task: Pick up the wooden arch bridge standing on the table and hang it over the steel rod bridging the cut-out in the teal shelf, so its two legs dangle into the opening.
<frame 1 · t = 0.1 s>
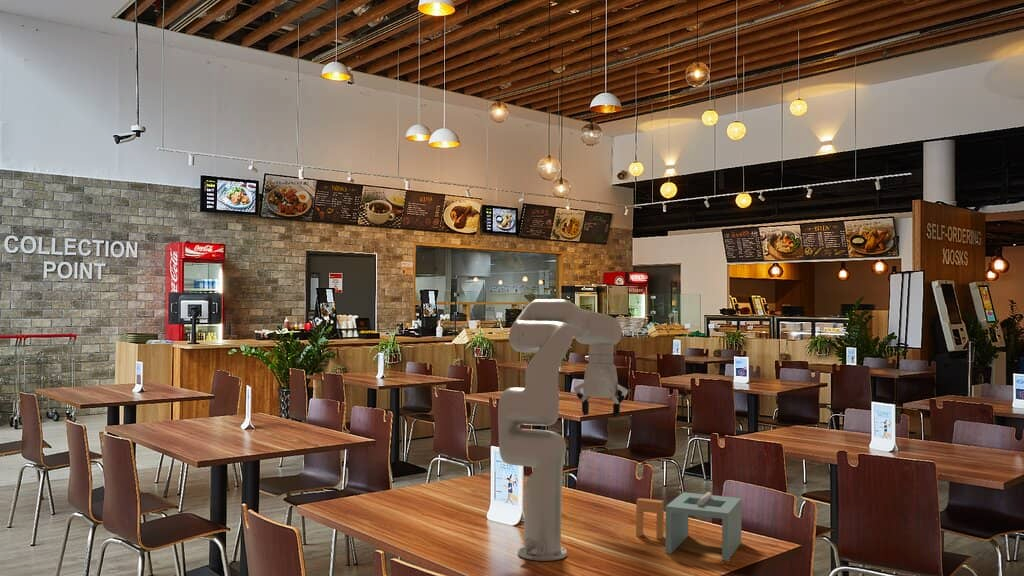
hand: (600, 415, 247), 31 cm above the table, fingers open, 9 cm apart
shelf: (704, 547, 213), on the table
wooden arch bridge: (649, 536, 224), on the table
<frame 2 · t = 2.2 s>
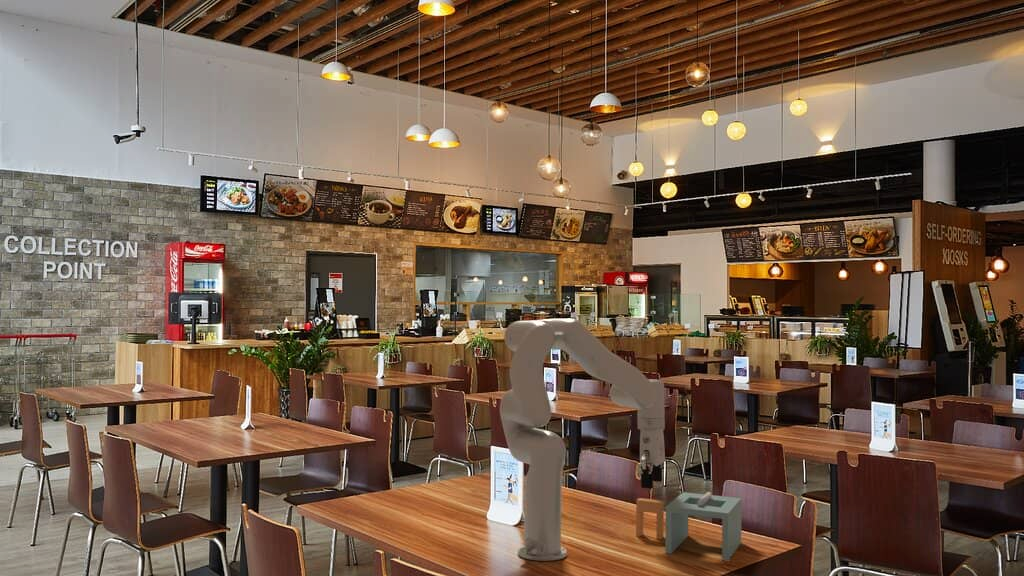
hand: (651, 484, 225), 14 cm above the table, fingers open, 9 cm apart
nothing on the table moved.
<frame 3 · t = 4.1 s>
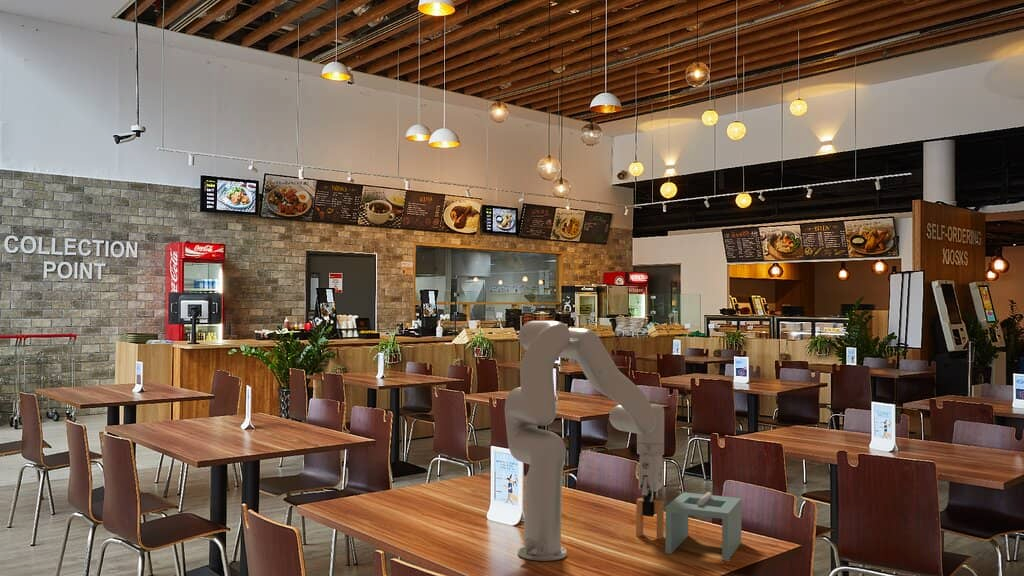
hand: (649, 513, 224), 6 cm above the table, fingers closed on wooden arch bridge, 3 cm apart
wooden arch bridge: (649, 536, 224), on the table, touching gripper
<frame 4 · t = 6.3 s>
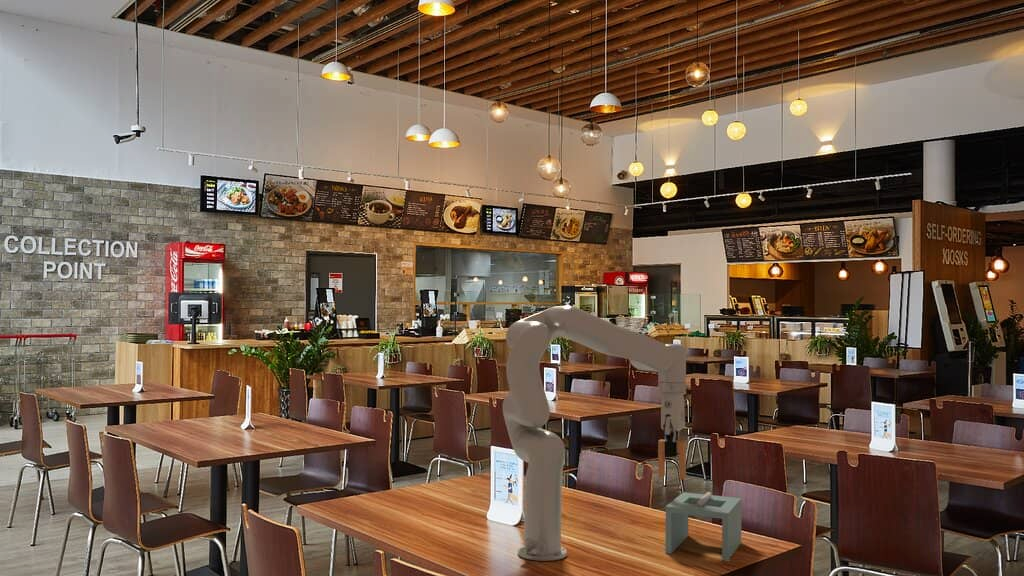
hand: (672, 454, 221), 23 cm above the table, fingers closed on wooden arch bridge, 3 cm apart
wooden arch bridge: (672, 477, 221), point 17 cm above the table, touching gripper
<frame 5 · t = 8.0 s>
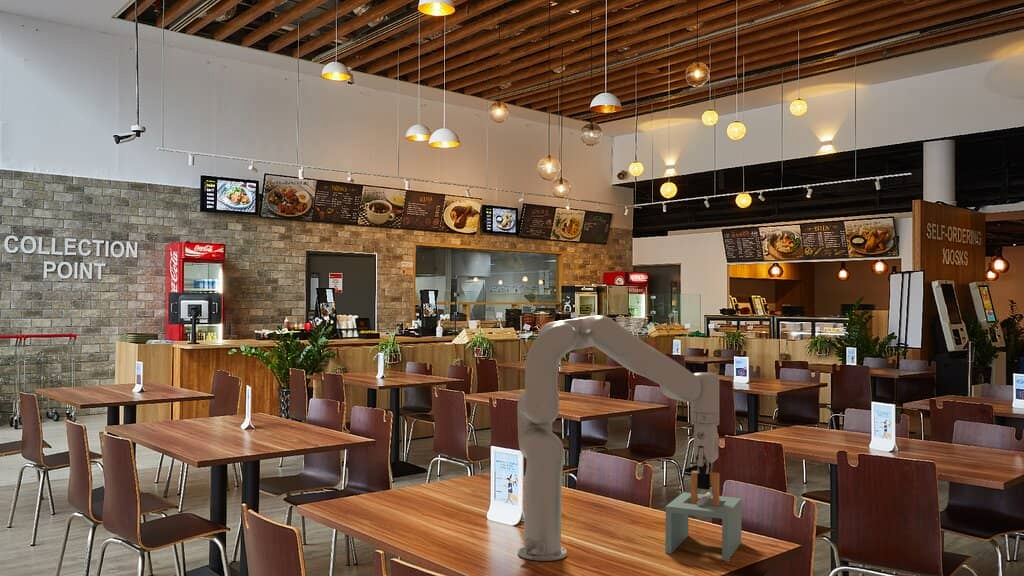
hand: (705, 486, 214), 16 cm above the table, fingers closed on wooden arch bridge, 3 cm apart
wooden arch bridge: (705, 510, 214), point 10 cm above the table, touching gripper
when the fingers open (15 cm above the table, at t = 8.7 s): wooden arch bridge drops 3 cm, resting on shelf.
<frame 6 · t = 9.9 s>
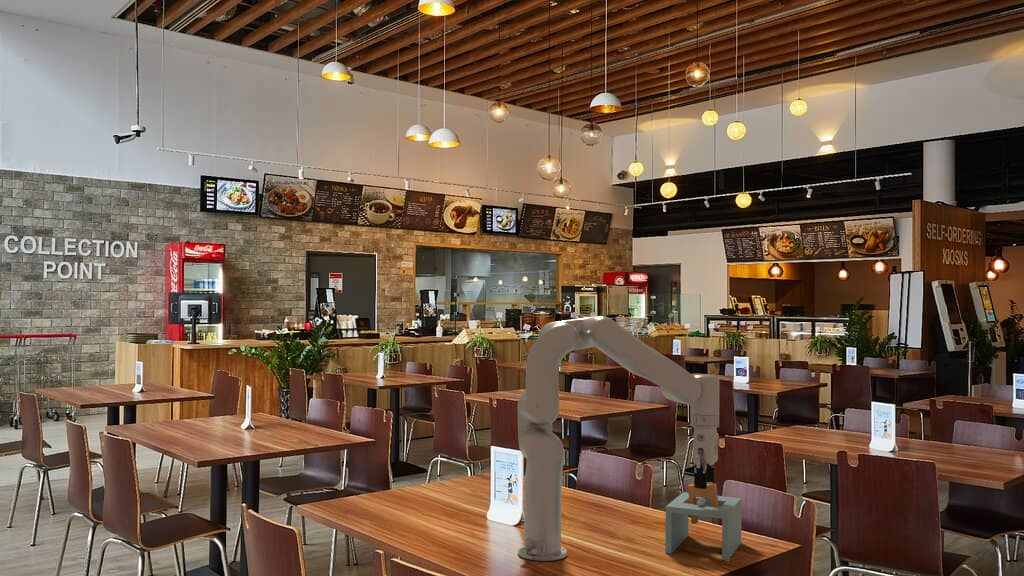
hand: (704, 485, 214), 17 cm above the table, fingers open, 9 cm apart
wooden arch bridge: (705, 522, 214), point 7 cm above the table, tilted 6°, touching shelf
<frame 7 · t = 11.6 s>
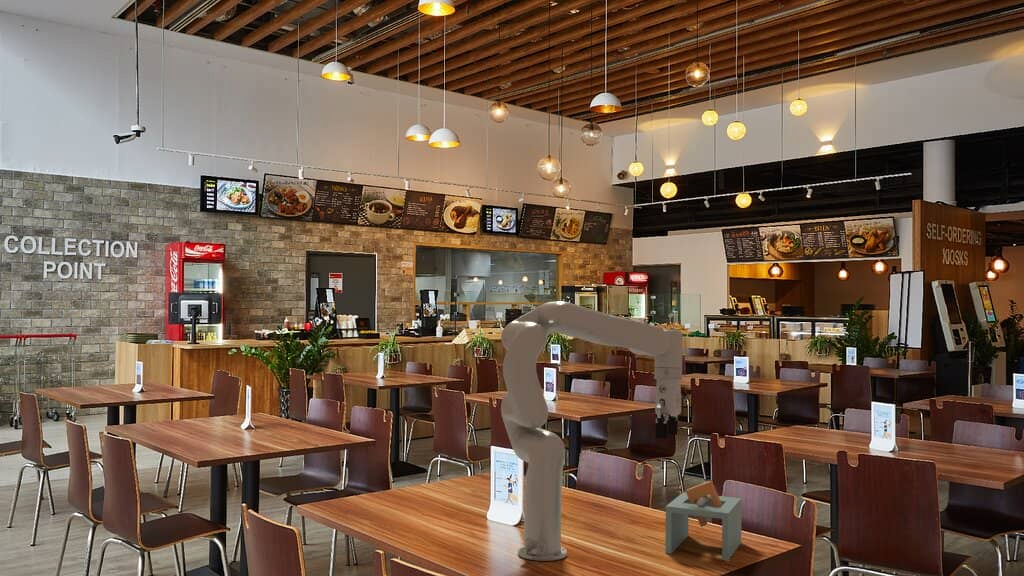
hand: (666, 436, 221), 29 cm above the table, fingers open, 9 cm apart
wooden arch bridge: (714, 521, 213), point 7 cm above the table, tilted 25°, touching shelf
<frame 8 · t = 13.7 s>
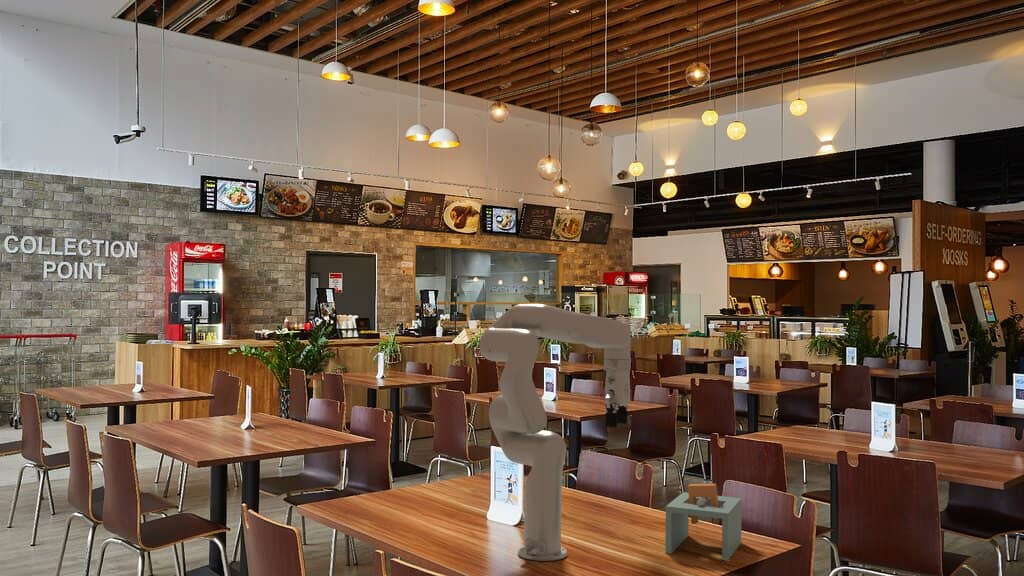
hand: (616, 425, 229), 30 cm above the table, fingers open, 9 cm apart
wooden arch bridge: (705, 522, 214), point 7 cm above the table, tilted 6°, touching shelf
at the end: wooden arch bridge 0.4 cm off-centre on the shelf, point 6.6 cm above the shelf's base; wooden arch bridge tilted 6°; the gripper is holding nothing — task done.
